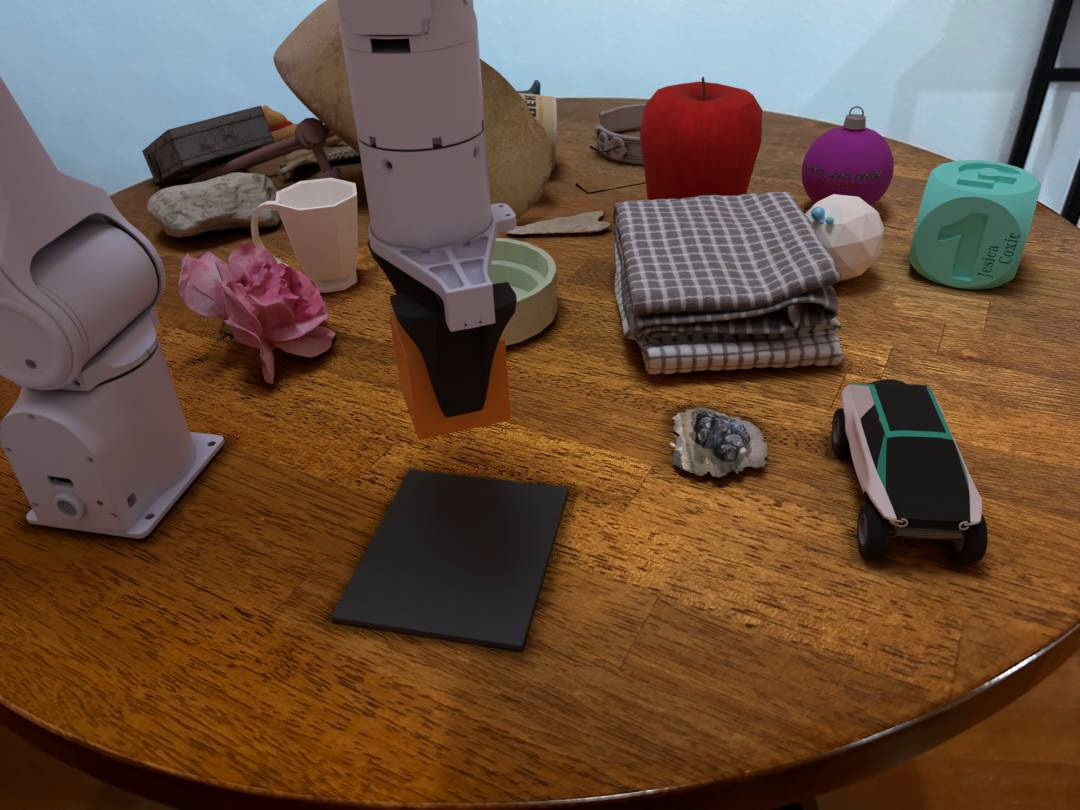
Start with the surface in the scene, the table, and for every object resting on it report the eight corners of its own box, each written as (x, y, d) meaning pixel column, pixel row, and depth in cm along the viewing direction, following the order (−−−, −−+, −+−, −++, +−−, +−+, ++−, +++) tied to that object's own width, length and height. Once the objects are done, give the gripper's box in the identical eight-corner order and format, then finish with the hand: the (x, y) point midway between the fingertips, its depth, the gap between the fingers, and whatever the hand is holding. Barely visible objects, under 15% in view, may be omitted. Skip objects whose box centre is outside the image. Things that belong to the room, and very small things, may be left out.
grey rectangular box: (236, 162, 103) (152, 186, 98) (223, 128, 102) (137, 151, 97) (276, 142, 89) (181, 169, 85) (262, 103, 88) (164, 129, 84)
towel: (780, 259, 76) (792, 172, 71) (846, 375, 61) (866, 273, 56) (605, 267, 76) (606, 180, 71) (628, 385, 61) (630, 284, 56)
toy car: (923, 435, 55) (942, 364, 52) (979, 574, 46) (1007, 496, 43) (827, 431, 56) (841, 361, 53) (862, 567, 46) (881, 491, 43)
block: (511, 420, 46) (505, 339, 44) (418, 440, 45) (406, 359, 42) (486, 372, 50) (479, 295, 48) (400, 390, 49) (388, 312, 46)
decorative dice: (902, 279, 72) (923, 186, 68) (918, 241, 78) (938, 154, 74) (1008, 298, 69) (1038, 202, 65) (1016, 257, 75) (1044, 166, 70)
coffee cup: (557, 155, 89) (439, 152, 88) (551, 193, 98) (444, 190, 97) (557, 70, 91) (441, 67, 90) (551, 116, 100) (445, 113, 99)
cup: (357, 302, 73) (341, 210, 68) (246, 296, 74) (222, 206, 70) (384, 264, 78) (371, 178, 74) (280, 260, 80) (260, 174, 75)
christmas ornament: (891, 202, 86) (912, 98, 80) (875, 234, 80) (897, 124, 74) (807, 190, 89) (822, 89, 83) (786, 220, 83) (800, 114, 77)
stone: (344, -50, 86) (350, -6, 92) (239, 48, 82) (252, 87, 87) (589, 125, 83) (580, 159, 89) (494, 235, 79) (491, 263, 85)
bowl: (538, 361, 64) (536, 314, 62) (382, 348, 67) (375, 302, 64) (570, 285, 74) (569, 241, 72) (432, 276, 76) (427, 233, 74)
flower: (345, 354, 72) (380, 284, 65) (259, 426, 66) (287, 357, 58) (241, 263, 72) (264, 181, 64) (145, 325, 66) (159, 243, 58)
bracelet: (656, 174, 93) (657, 147, 92) (567, 146, 102) (567, 120, 100) (735, 142, 101) (738, 116, 99) (647, 118, 109) (648, 94, 108)
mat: (522, 651, 43) (521, 646, 42) (331, 622, 45) (330, 616, 44) (568, 492, 52) (568, 487, 52) (410, 473, 54) (409, 468, 54)
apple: (630, 244, 80) (634, 91, 72) (646, 201, 88) (651, 59, 80) (749, 252, 77) (766, 95, 70) (754, 207, 85) (770, 62, 78)
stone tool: (602, 213, 86) (502, 225, 85) (602, 205, 85) (501, 217, 84) (615, 233, 82) (510, 246, 81) (615, 225, 82) (510, 238, 80)
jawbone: (263, 169, 101) (259, 151, 100) (428, 139, 108) (426, 122, 107) (281, 187, 94) (277, 168, 93) (456, 154, 101) (454, 136, 100)
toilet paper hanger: (363, 105, 101) (398, 83, 89) (392, 175, 104) (430, 163, 91) (182, 172, 94) (194, 158, 81) (218, 245, 96) (235, 242, 84)
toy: (232, 147, 107) (223, 105, 104) (373, 142, 107) (368, 100, 104) (225, 155, 104) (215, 112, 101) (370, 150, 104) (364, 107, 101)
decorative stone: (209, 261, 80) (194, 209, 77) (136, 237, 85) (120, 187, 82) (307, 214, 88) (297, 166, 85) (236, 194, 93) (224, 148, 90)
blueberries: (688, 495, 52) (690, 470, 50) (638, 419, 58) (639, 395, 57) (791, 471, 53) (795, 446, 52) (731, 400, 59) (733, 376, 58)
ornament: (881, 214, 74) (898, 179, 67) (870, 296, 74) (885, 270, 66) (798, 207, 76) (806, 172, 68) (787, 287, 75) (793, 260, 67)
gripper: (558, 170, 34) (566, 443, 42) (468, 79, 46) (487, 308, 54) (380, 197, 33) (422, 476, 41) (332, 96, 44) (372, 329, 52)
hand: (450, 382), depth 47 cm, fingers closed on block, 5 cm apart
